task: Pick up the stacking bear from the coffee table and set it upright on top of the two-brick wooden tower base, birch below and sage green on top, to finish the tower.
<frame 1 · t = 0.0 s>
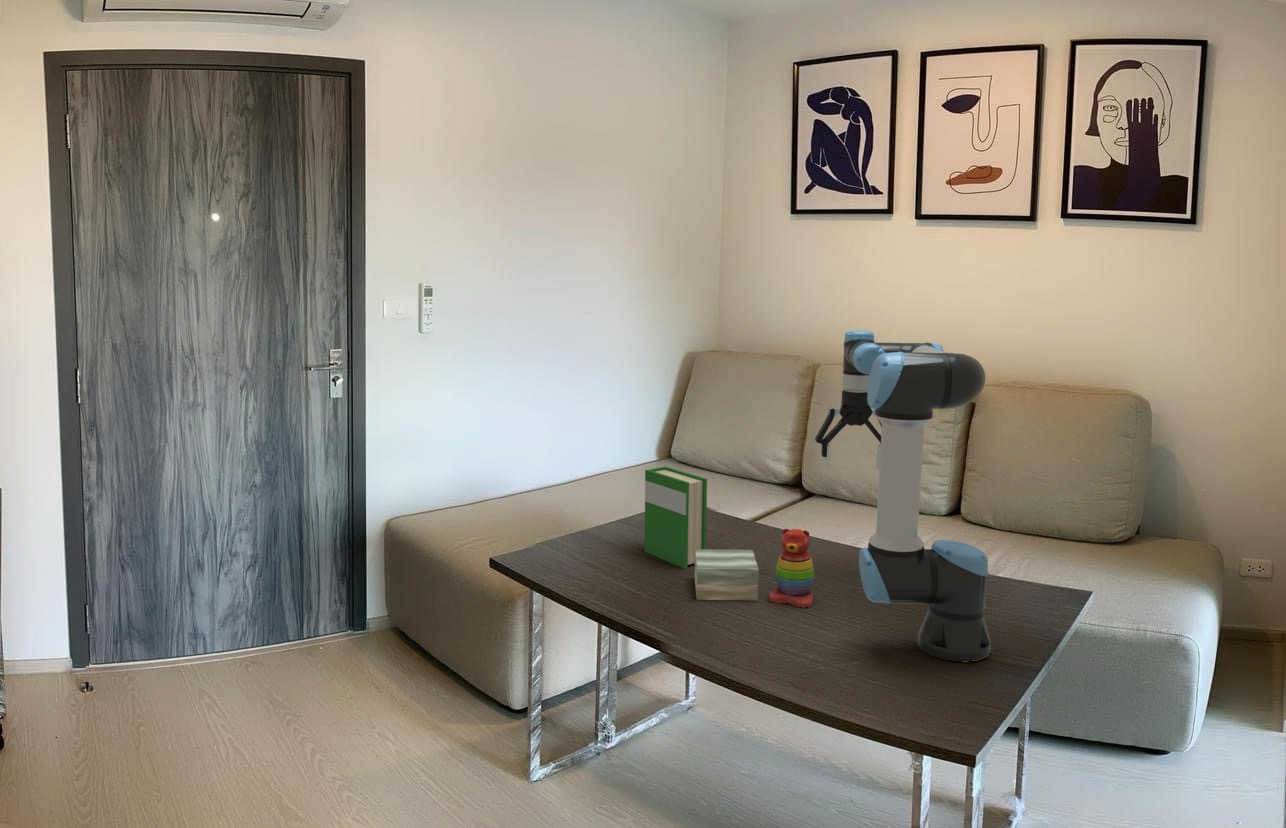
hand: (852, 469, 250), 28 cm above the table, tool pointing down, fingers open, 13 cm apart
tower base: (725, 589, 241), on the table
stacking bear: (793, 599, 235), on the table
hardback book: (674, 558, 265), on the table
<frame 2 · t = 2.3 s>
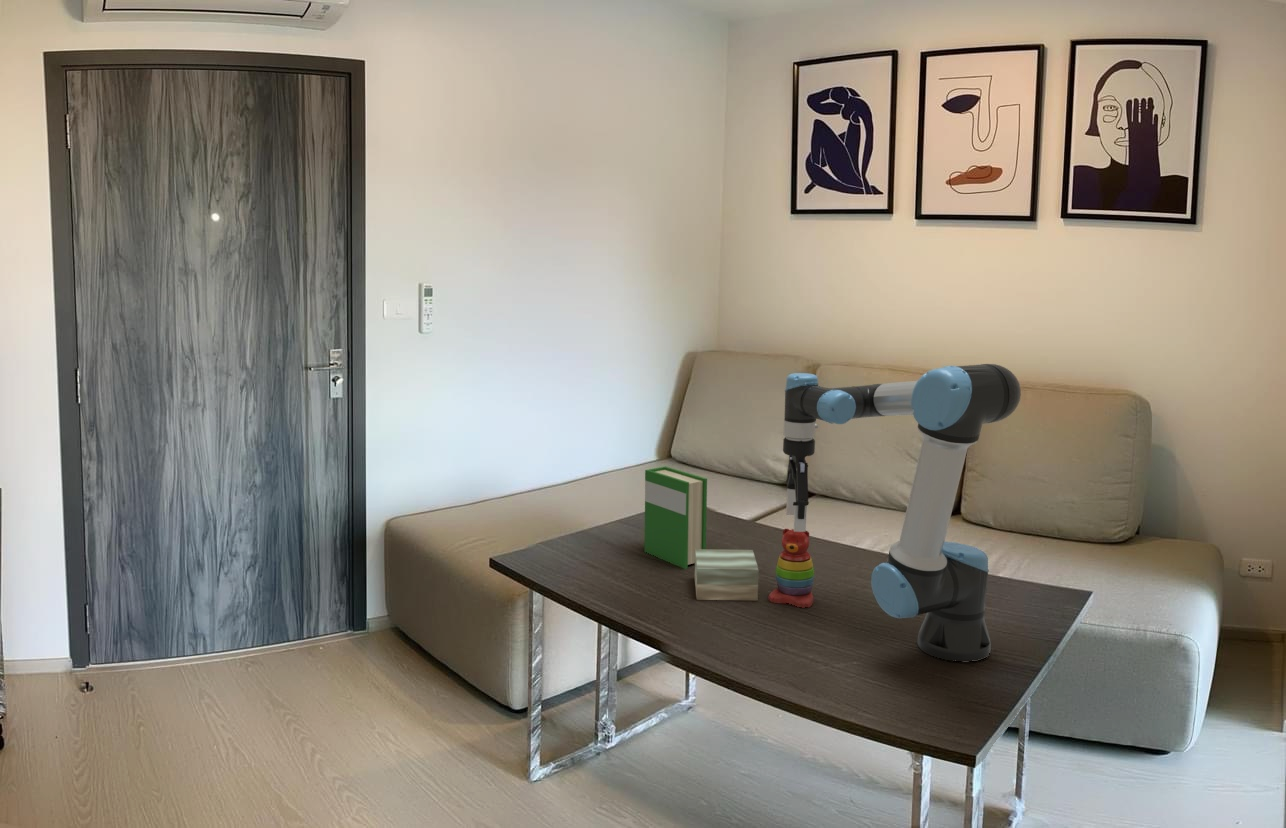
hand: (795, 522, 231), 19 cm above the table, tool pointing down, fingers open, 13 cm apart
nothing on the table moved.
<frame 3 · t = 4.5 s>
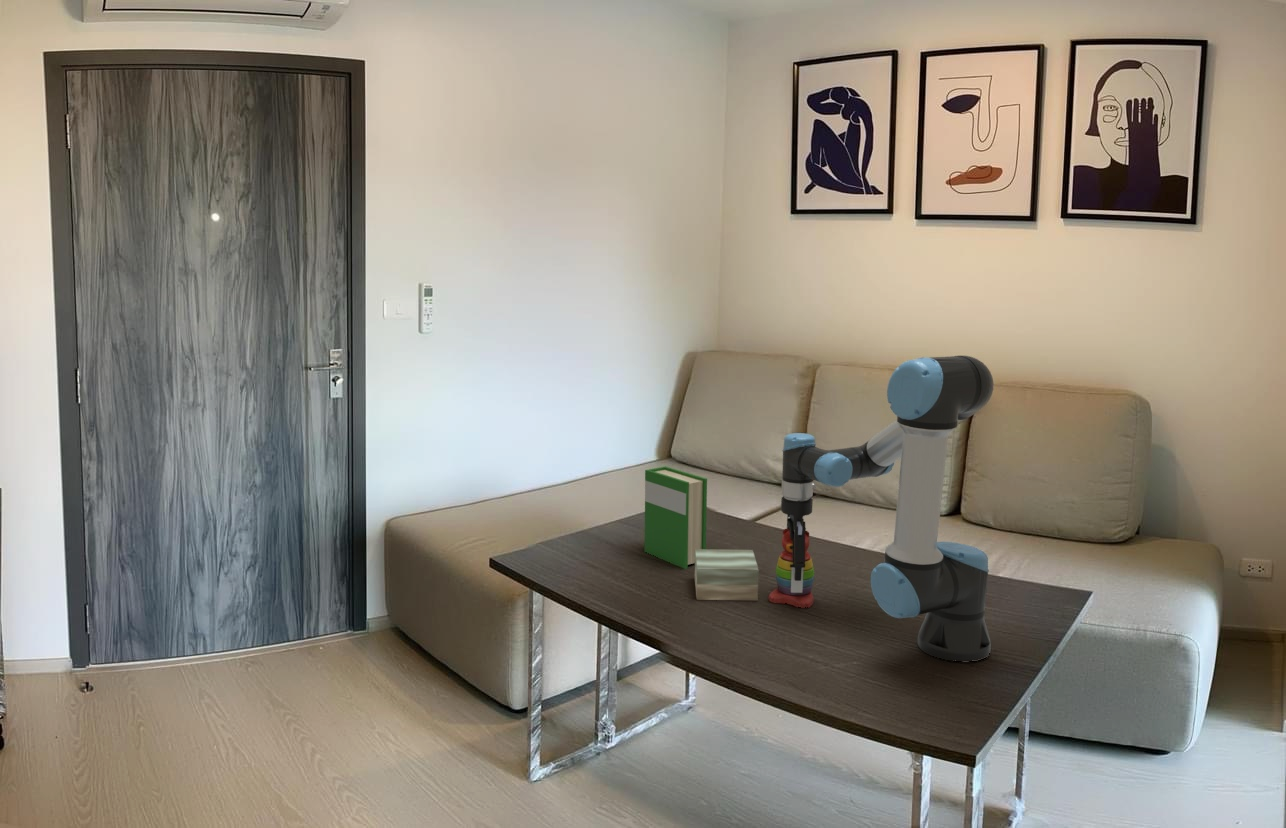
hand: (793, 584, 234), 4 cm above the table, tool pointing down, fingers closed on stacking bear, 9 cm apart
stacking bear: (793, 599, 234), on the table, touching gripper
everything else where it was.
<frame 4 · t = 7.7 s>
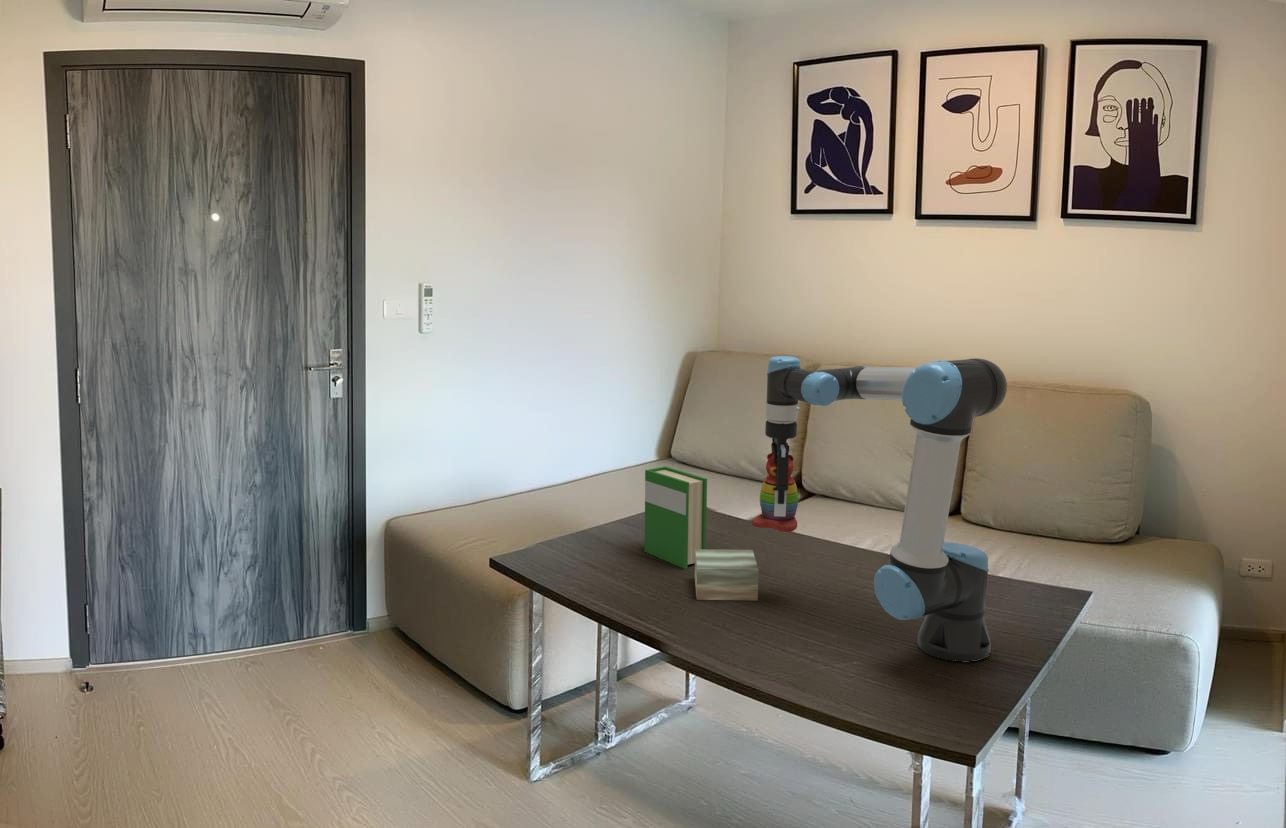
hand: (777, 509, 233), 22 cm above the table, tool pointing down, fingers closed on stacking bear, 9 cm apart
stacking bear: (777, 525, 233), point 18 cm above the table, touching gripper
everything else where it was.
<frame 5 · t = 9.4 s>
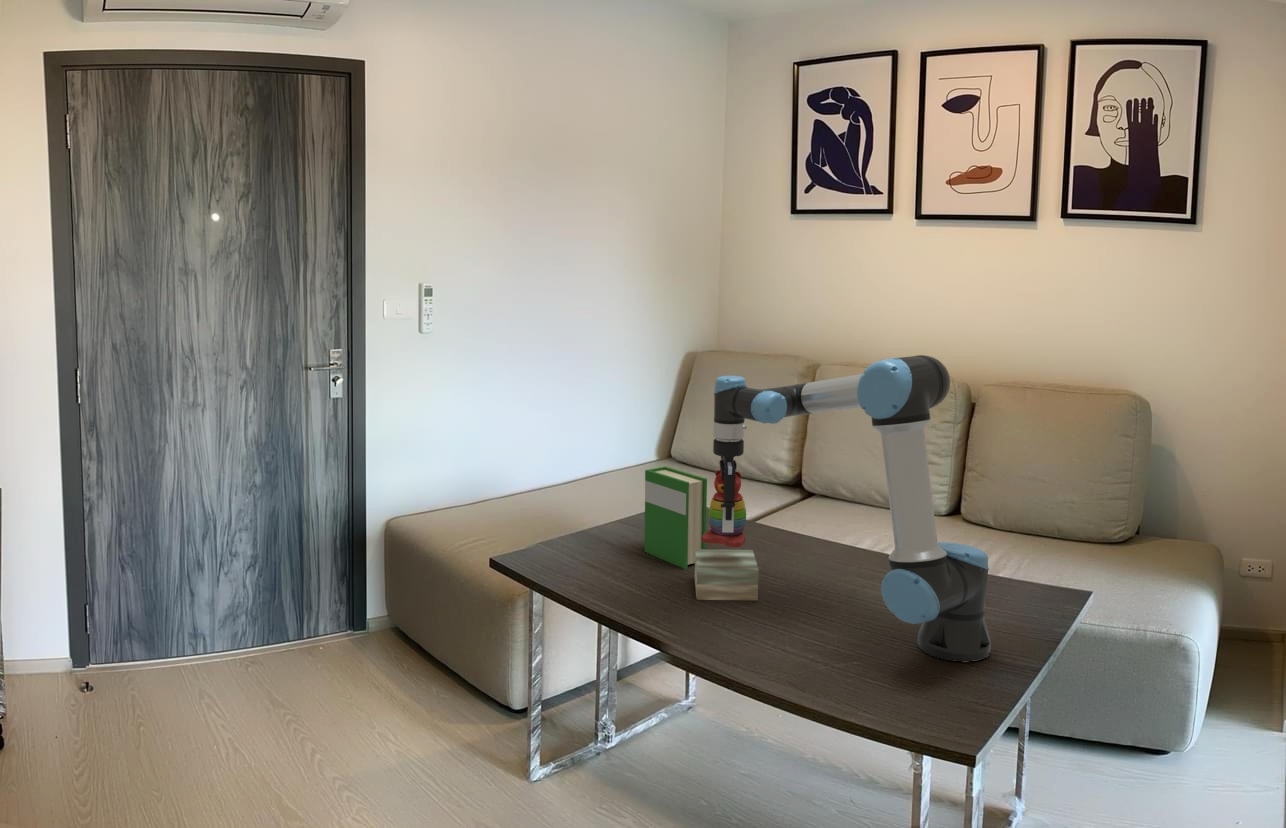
hand: (726, 525, 238), 17 cm above the table, tool pointing down, fingers closed on stacking bear, 9 cm apart
stacking bear: (726, 540, 238), point 13 cm above the table, touching gripper
everything else where it was.
when the fingers open (13 cm above the table, at t = 10.9 s): stacking bear drops 1 cm, resting on tower base.
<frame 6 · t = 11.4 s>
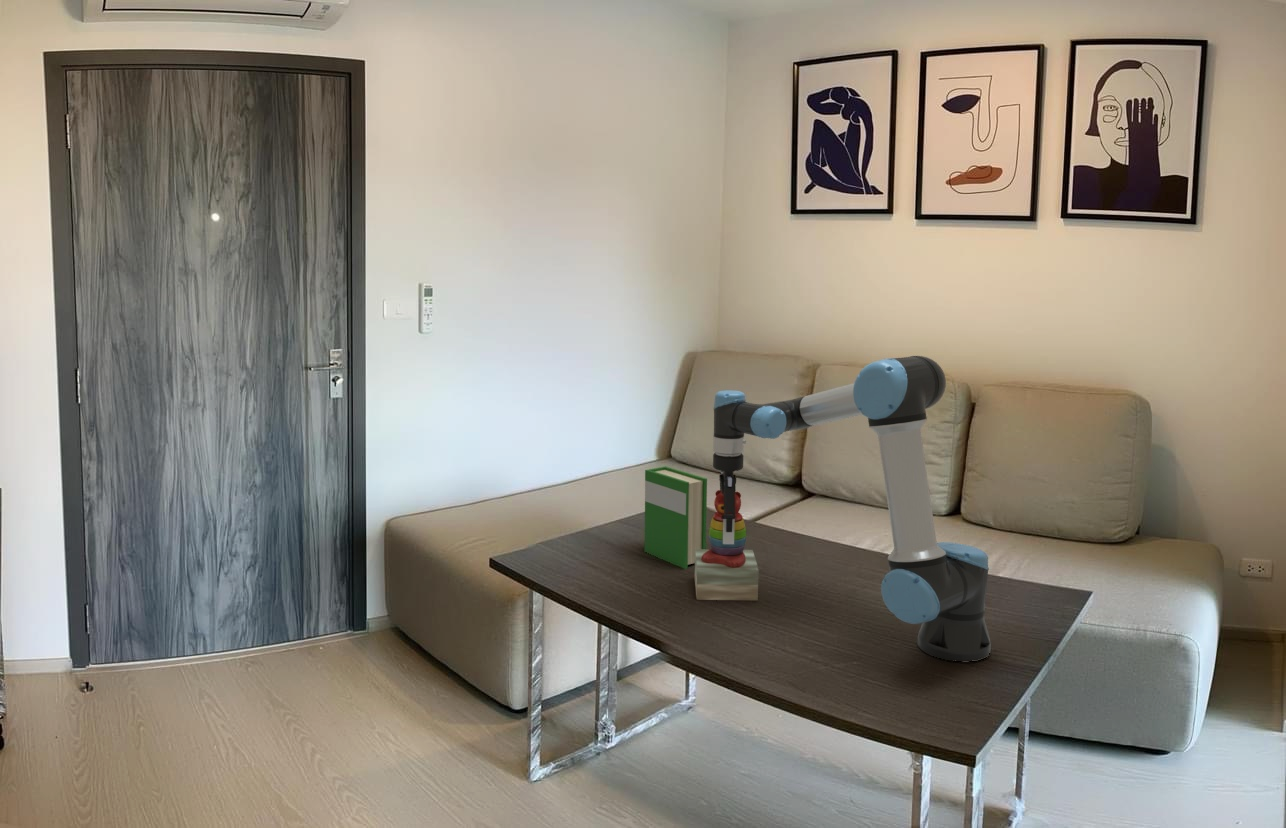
hand: (726, 535, 238), 14 cm above the table, tool pointing down, fingers open, 13 cm apart
stacking bear: (726, 560, 239), point 8 cm above the table, touching tower base
everything else where it was.
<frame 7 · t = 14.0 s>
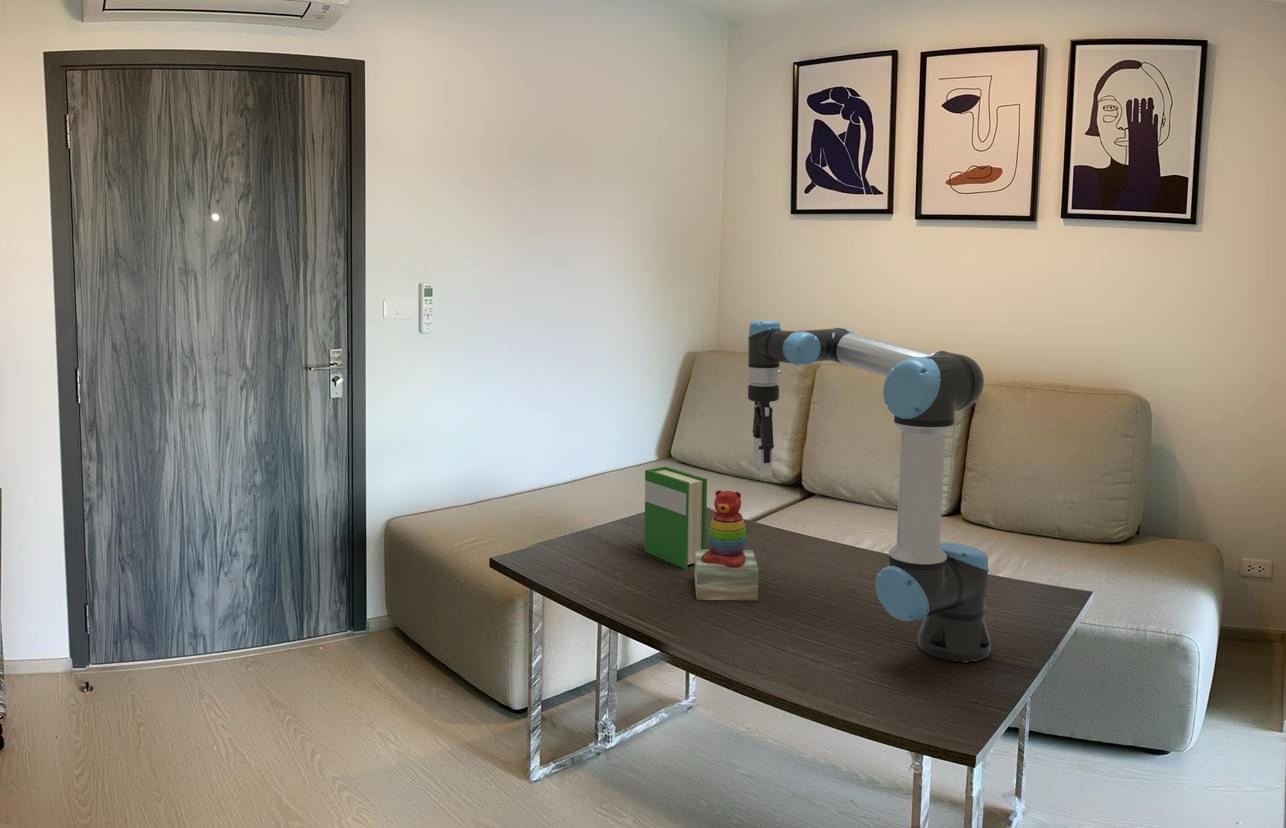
hand: (762, 469, 233), 32 cm above the table, tool pointing down, fingers open, 13 cm apart
nothing on the table moved.
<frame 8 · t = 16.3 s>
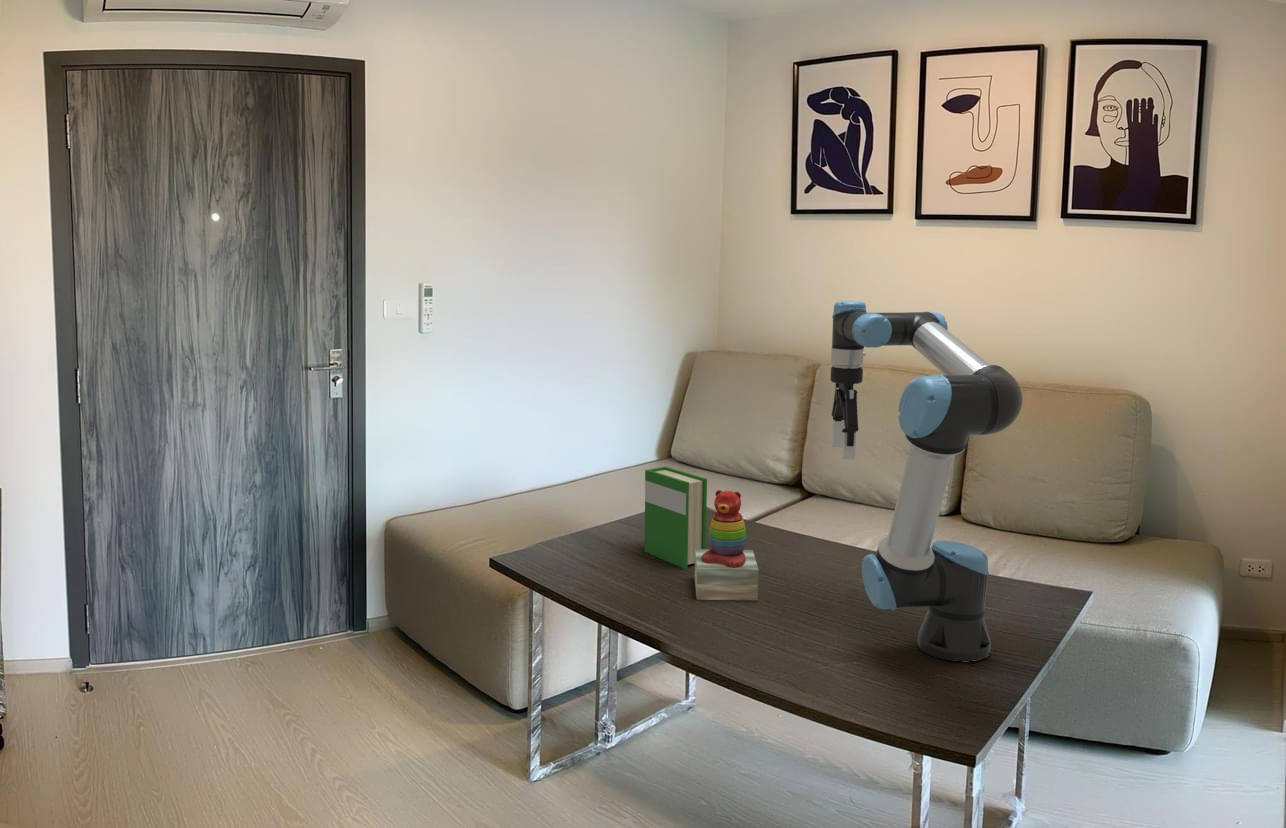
hand: (842, 452, 230), 37 cm above the table, tool pointing down, fingers open, 13 cm apart
nothing on the table moved.
at the end: stacking bear inside the target area on the tower base (0.3 cm from its centre), point 7.8 cm above the tower base's base; stacking bear tilted 0°; the gripper is holding nothing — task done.
